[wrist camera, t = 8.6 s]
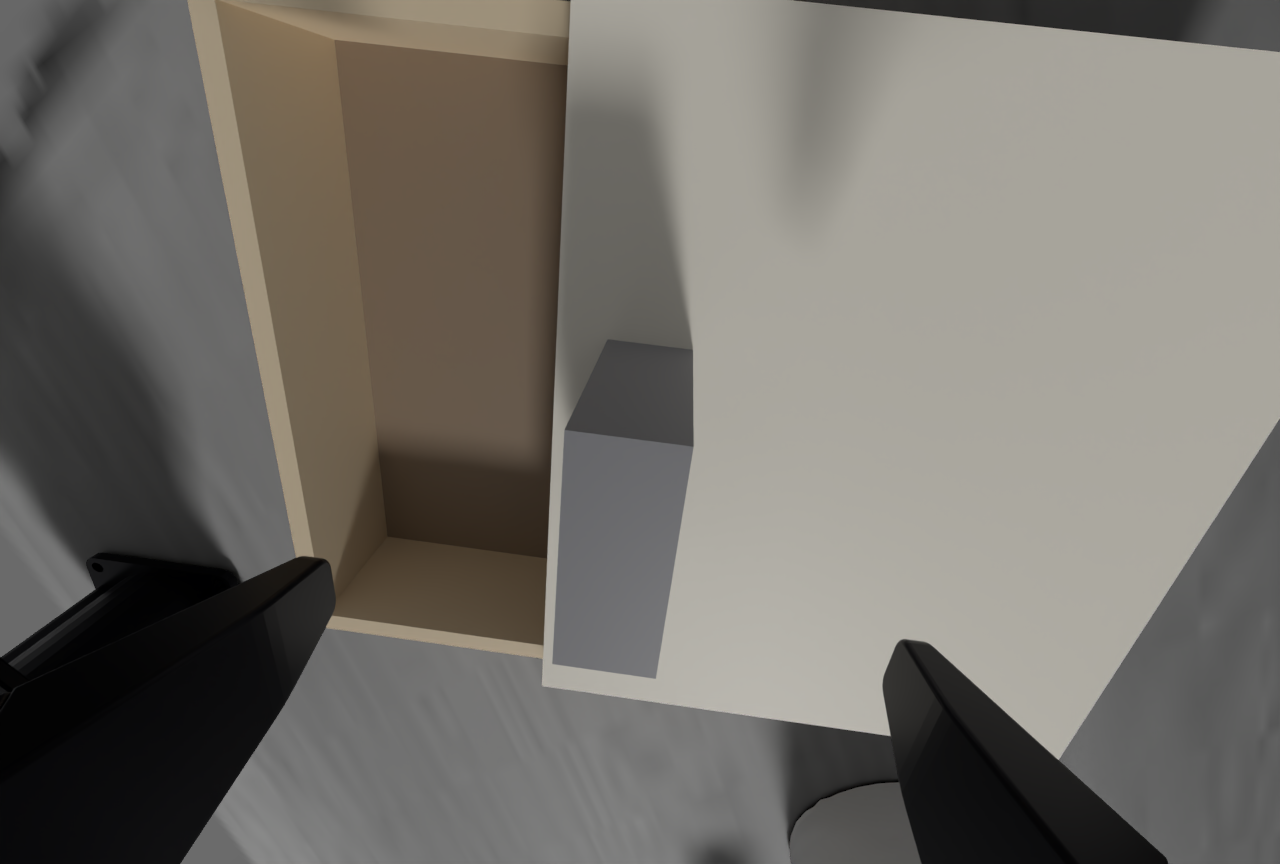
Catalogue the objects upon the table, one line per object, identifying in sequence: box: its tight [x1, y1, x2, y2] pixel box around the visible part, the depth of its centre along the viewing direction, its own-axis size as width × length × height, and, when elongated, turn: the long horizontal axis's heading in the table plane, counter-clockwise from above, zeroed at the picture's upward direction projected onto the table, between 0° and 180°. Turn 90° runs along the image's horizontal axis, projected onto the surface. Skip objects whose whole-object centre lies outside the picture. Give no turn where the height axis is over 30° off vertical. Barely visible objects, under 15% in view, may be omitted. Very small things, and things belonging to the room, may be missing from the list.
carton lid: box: [542, 0, 1280, 760], centre depth 12 cm, size 16×18×6 cm
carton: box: [187, 0, 571, 659], centre depth 17 cm, size 16×18×5 cm
